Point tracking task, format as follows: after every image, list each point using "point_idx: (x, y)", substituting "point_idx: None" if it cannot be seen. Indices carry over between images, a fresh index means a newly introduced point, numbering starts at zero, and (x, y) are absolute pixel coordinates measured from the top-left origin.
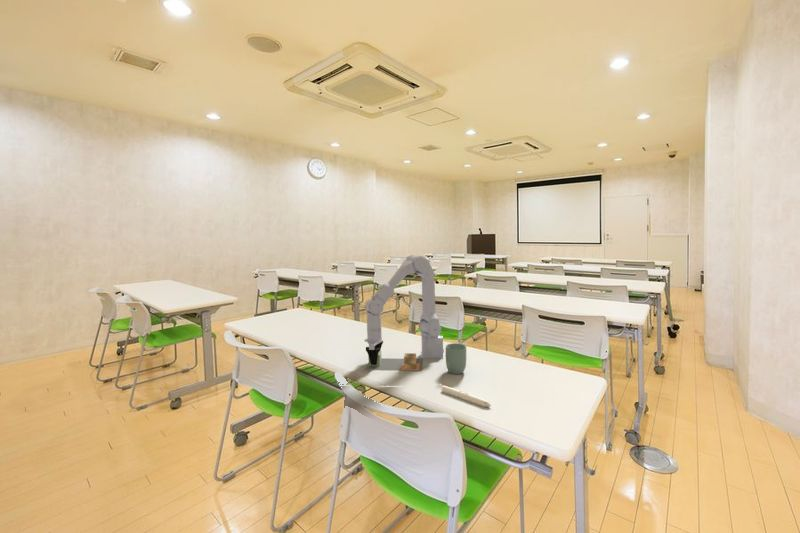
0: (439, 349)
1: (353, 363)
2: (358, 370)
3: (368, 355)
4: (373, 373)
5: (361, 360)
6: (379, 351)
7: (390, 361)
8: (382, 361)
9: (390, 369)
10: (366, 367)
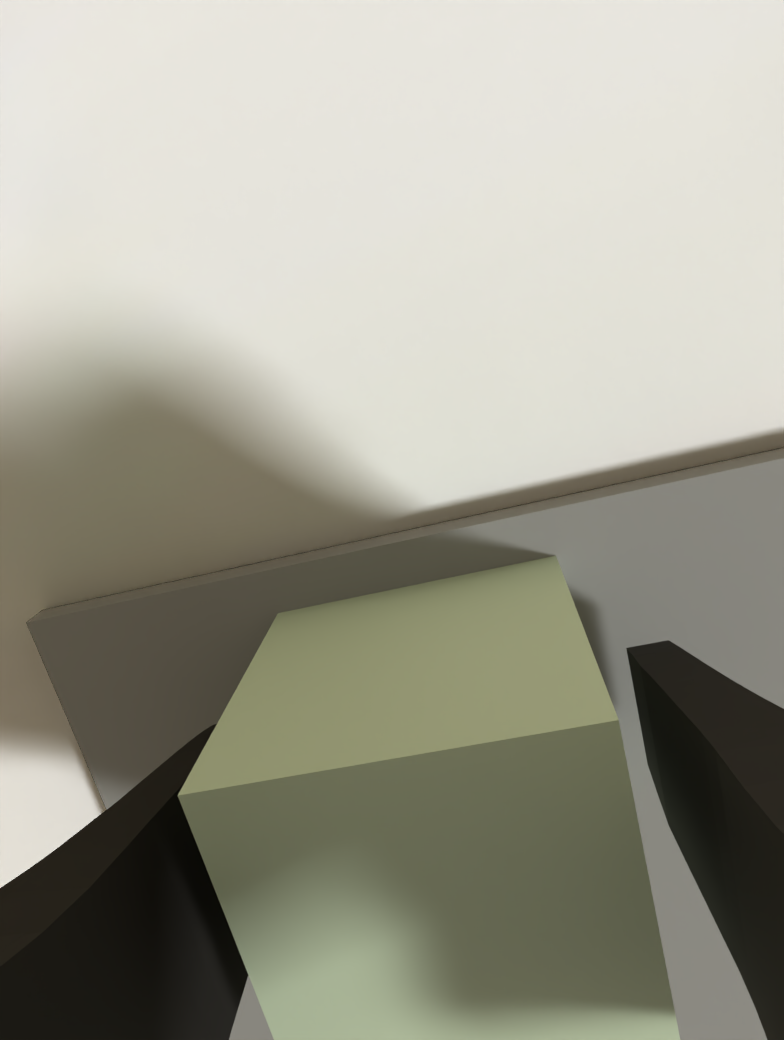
0: None
1: (398, 74)
2: (15, 457)
3: (188, 780)
4: (17, 804)
5: (699, 201)
6: (651, 1023)
7: (676, 960)
8: (641, 810)
9: None
10: (162, 604)
